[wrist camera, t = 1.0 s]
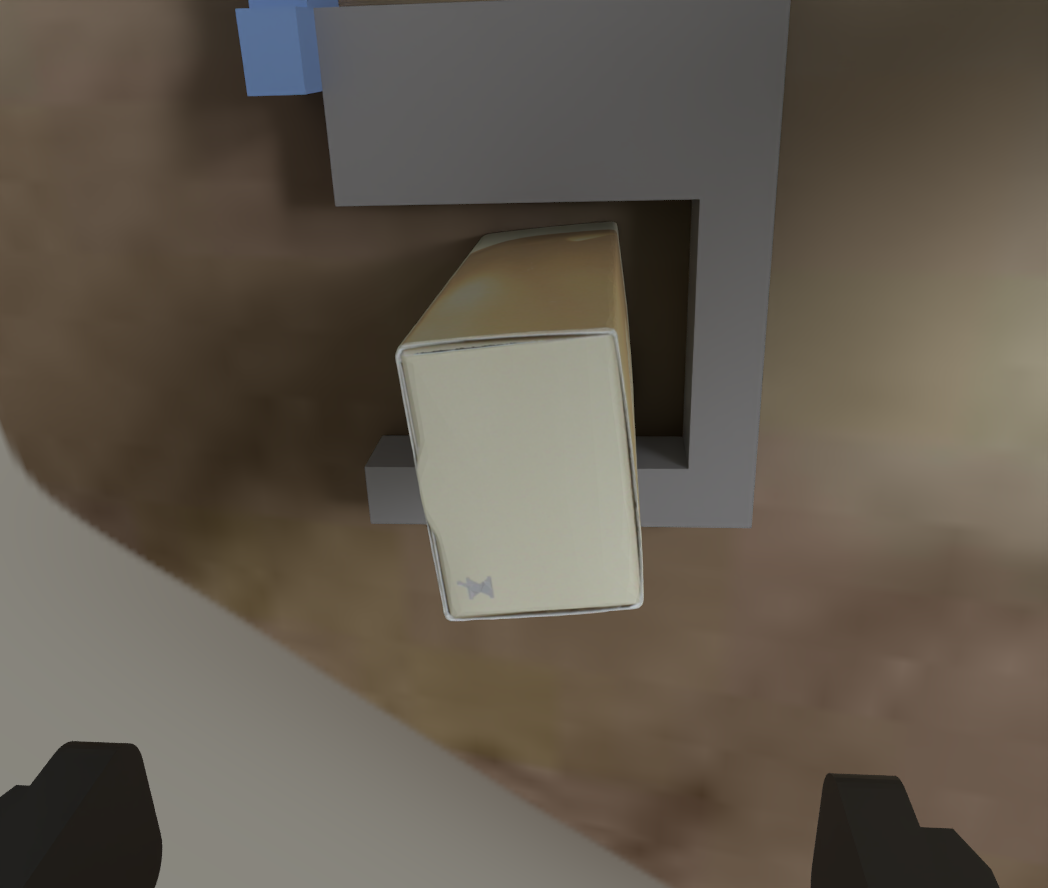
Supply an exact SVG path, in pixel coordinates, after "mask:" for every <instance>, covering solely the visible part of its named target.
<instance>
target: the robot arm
mask: <svg viewBox="0 0 1048 888" xmlns="http://www.w3.org/2000/svg"><path fill="white" fill-rule="evenodd" d="M161 859H162V839H161V833H160V829H159V825H158V821H157V817H156V813H155V809H154V804H153V800H152V796H151V792H150V788H149V784H148V780H147V776H146V771H145V767H144V763H143V759H142V756H141V753H140V751H139V749H138V748H137V747H136V746H135V745H134V744H128V743H104V742H79V741H72V742H68V743H66V744H64V745H63V746H61V747H60V748H59V749H58V750H57V751H56V753H55V754H54V755H53V756H52V758H51V759H50V760H49V761H48V763H47V764H46V765H45V767H44V768H43V769H42V771H41V772H40V773H39V775H38V776H37V777H36V779H35V780H34V781H33V782H32V784H31V785H30V786H24V785H23V786H22V785H16V786H14V787H13V788H12V789H10V790H9V791H8V792H6V793H5V794H4V795H2V796H1V797H0V888H155V885H156V882H157V879H158V876H159V871H160V866H161ZM811 888H999V885H998V883H997V881H996V879H995V877H994V875H993V872H992V870H991V869H990V868H989V867H988V865H987V864H986V863H985V862H984V861H983V860H982V859H981V858H980V857H979V856H978V855H977V854H976V853H975V852H974V851H973V850H972V849H971V847H970V846H969V845H968V844H967V843H966V842H965V841H964V840H963V839H962V838H961V837H960V836H959V835H958V834H957V833H956V832H955V831H954V829H948V828H925V827H920V825H919V823H918V820H917V818H916V815H915V813H914V810H913V808H912V805H911V803H910V800H909V798H908V795H907V793H906V790H905V788H904V786H903V784H902V782H901V780H900V779H899V778H898V777H896V776H884V775H859V774H834V773H829V774H827V775H826V777H825V780H824V783H823V789H822V797H821V804H820V811H819V819H818V826H817V834H816V841H815V848H814V856H813V863H812V871H811Z"/></svg>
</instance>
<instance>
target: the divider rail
mask: <svg viewBox="0 0 1048 888" xmlns="http://www.w3.org/2000/svg"><path fill="white" fill-rule="evenodd" d="M248 1H249V8H239V9H235V11H236V18H237V25H238V32H239V39H240V46H241V53H242V60H243V68H244V75H245V82H246V89H247V96H274V95H306V94H311V93H316V92H321V91H323V100H324V109H325V118H326V127H327V135H328V144H329V153H330V162H331V171H332V180H333V189H334V198H335V206H380V205H432V204H483V203H534V202H586V201H637V200H689V199H692V208H691V233H690V259H689V285H688V310H687V336H686V362H685V388H684V413H683V437H679V436H635V437H636V456H637V474H638V489H639V506H640V521H641V527H708V528H751V527H752V513H753V500H754V487H755V473H756V460H757V446H758V433H759V419H760V406H761V392H762V379H763V365H764V352H765V339H766V325H767V312H768V298H769V285H770V271H771V258H772V244H773V231H774V217H775V204H776V191H777V177H778V164H779V150H780V137H781V123H782V110H783V96H784V83H785V69H786V56H787V43H788V29H789V16H790V2H791V0H501V1H476V2H450V3H425V4H399V5H374V6H348V7H339V4H338V0H248ZM365 475H366V484H367V493H368V502H369V511H370V520H371V523H374V524H427V523H426V519H425V514H424V510H423V505H422V501H421V496H420V490H419V484H418V479H417V475H416V469H415V463H414V456H413V450H412V446H411V441H410V436H382V437H381V439H380V441H379V442H378V444H377V446H376V448H375V450H374V451H373V453H372V455H371V457H370V458H369V460H368V462H367V464H366V465H365Z"/></svg>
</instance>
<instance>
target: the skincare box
mask: <svg viewBox="0 0 1048 888" xmlns="http://www.w3.org/2000/svg"><path fill="white" fill-rule="evenodd" d="M395 360H396V364H397V369H398V375H399V381H400V387H401V392H402V398H403V404H404V409H405V414H406V420H407V425H408V430H409V436H410V441H411V446H412V450H413V456H414V463H415V469H416V475H417V479H418V484H419V490H420V496H421V501H422V505H423V510H424V514H425V519H426V523H427V528H428V533H429V539H430V544H431V549H432V555H433V560H434V564H435V569H436V575H437V580H438V585H439V589H440V594H441V599H442V604H443V612H444V615H445V617H446V619H448V620H449V621H467V620H478V619H504V618H526V617H543V616H561V615H576V614H589V613H600V612H606V611H616V610H629V609H636V608H640V606H641V605H642V604H643V599H644V590H643V556H642V535H641V521H640V506H639V489H638V474H637V456H636V437H635V421H634V397H633V378H632V362H631V349H630V336H629V322H628V310H627V301H626V293H625V285H624V276H623V268H622V260H621V252H620V244H619V236H618V228H617V224H616V223H615V222H599V223H586V224H573V225H563V226H552V227H542V228H532V229H524V230H516V231H507V232H499V233H491V234H487V235H484V236H483V237H482V238H481V239H480V240H479V242H478V243H477V244H476V246H475V247H474V248H473V250H472V251H471V252H470V254H469V255H468V256H467V257H466V259H465V260H464V261H463V263H462V264H461V265H460V267H459V268H458V269H457V271H456V272H455V273H454V274H453V276H452V277H451V278H450V280H449V281H448V282H447V284H446V285H445V286H444V288H443V289H442V290H441V292H440V293H439V294H438V295H437V297H436V298H435V299H434V301H433V302H432V303H431V305H430V306H429V307H428V309H427V310H426V311H425V313H424V314H423V315H422V317H421V318H420V319H419V321H418V322H417V323H416V324H415V325H414V327H413V328H412V330H411V331H410V332H409V334H408V335H407V336H406V337H405V339H404V340H403V341H402V343H401V344H400V345H399V347H398V349H397V351H396V354H395Z"/></svg>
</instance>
